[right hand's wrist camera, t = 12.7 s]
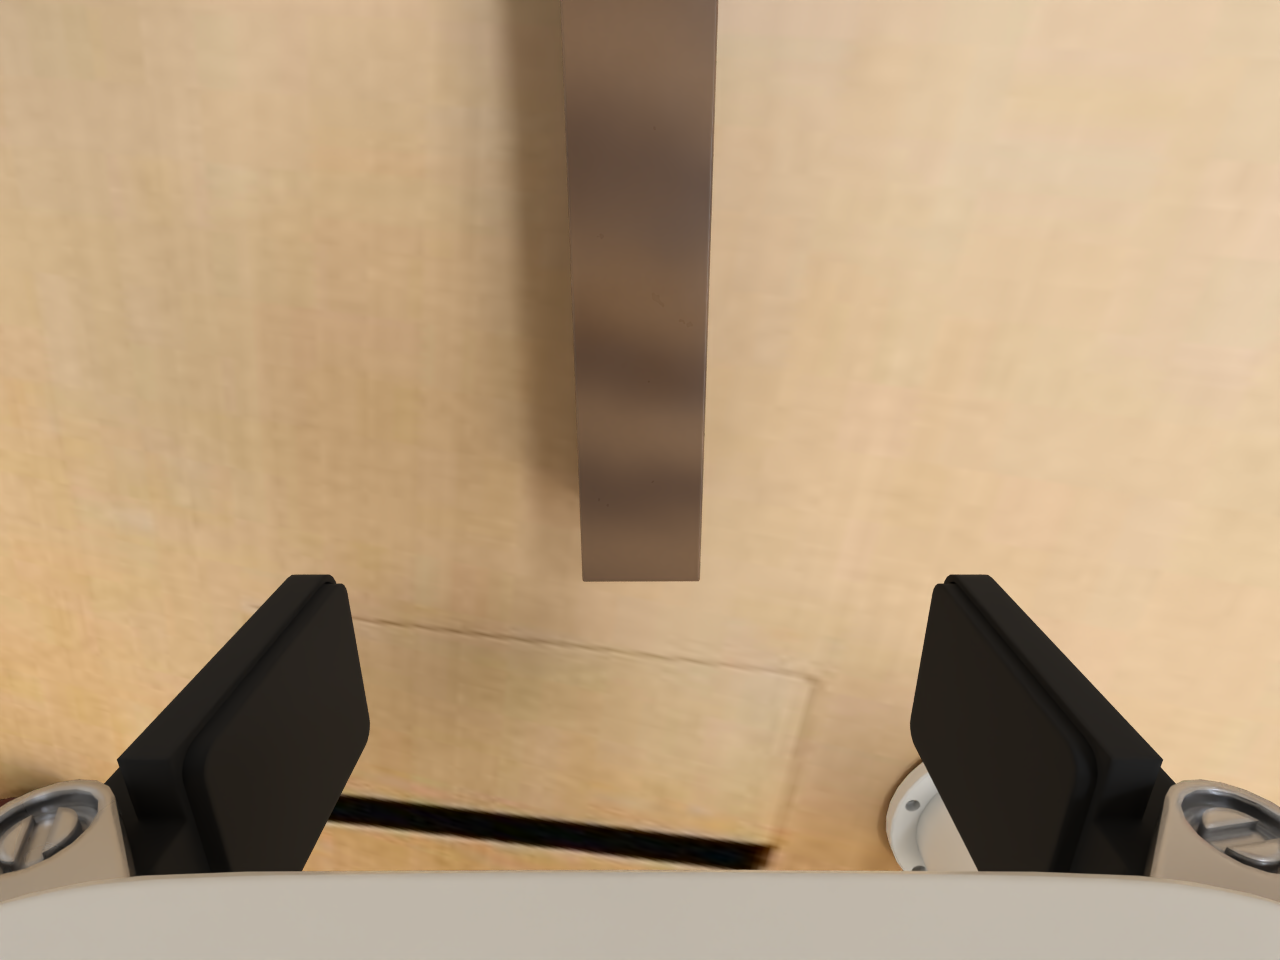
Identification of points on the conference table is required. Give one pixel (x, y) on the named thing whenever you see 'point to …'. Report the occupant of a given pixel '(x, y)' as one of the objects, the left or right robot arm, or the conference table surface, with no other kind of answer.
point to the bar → (640, 276)
